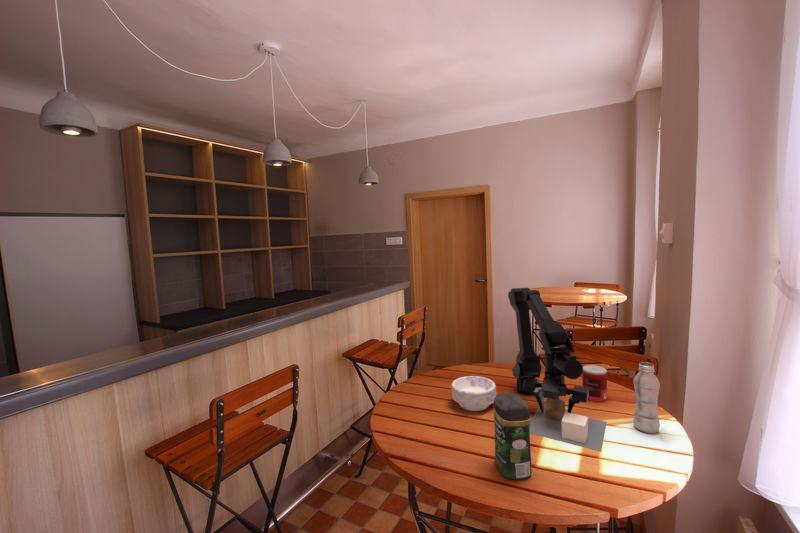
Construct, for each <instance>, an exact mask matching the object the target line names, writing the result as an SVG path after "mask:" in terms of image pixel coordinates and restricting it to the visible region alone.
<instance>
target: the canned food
mask: <svg viewBox="0 0 800 533" xmlns="http://www.w3.org/2000/svg"><path fill="white" fill-rule="evenodd" d="M582 367H583V372H582V374H581V377H582V380H581V381H582V387H587V388H588V390H589V397H588V400H587V401H588V402H589V401H590V402H594V403H604V402H607V400H608V372H607V369H606V368H605V367H603V366H599V365H595V364H594V365H593V364H590V365H588V364H587V365H584V366H583V365H582Z"/></svg>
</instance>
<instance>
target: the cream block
mask: <svg viewBox="0 0 800 533" xmlns="http://www.w3.org/2000/svg"><path fill="white" fill-rule="evenodd" d="M567 412H568V411H565V414H564V416H563V419H562V438H565V439H569V440H573V441H577V442H581V443H586V439H587V435H588V418H589V416H585V415H582V414H576V413H572V412H571V413H567Z"/></svg>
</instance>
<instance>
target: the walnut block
mask: <svg viewBox="0 0 800 533" xmlns="http://www.w3.org/2000/svg"><path fill="white" fill-rule="evenodd" d="M544 408H545V418H548V419H552V420H557V421H561V422H562V419H563V416H564V414H565V412H566V399H563V398H562V399H561V398H559V399H558V400H553V399H550V398H546V400H545V402H544Z"/></svg>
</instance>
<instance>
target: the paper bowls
mask: <svg viewBox="0 0 800 533" xmlns="http://www.w3.org/2000/svg"><path fill="white" fill-rule="evenodd" d="M451 396H452V400H453V401H454V402H456V403H457V404H458V405H459V406H460V407H461V408H462V409H464V410H466V411H471V412H480V411H484V410H486V409H488V408H489V407H490V405H492V404H494V398H495V397H496V396H497V386H496V383H495V382H494V381H493V380H492V379H489V378H487V377H484V376H477V375H469V376H468V375H466V376H461V377H458V378H456V379H454V380H453V381H452V383H451Z"/></svg>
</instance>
